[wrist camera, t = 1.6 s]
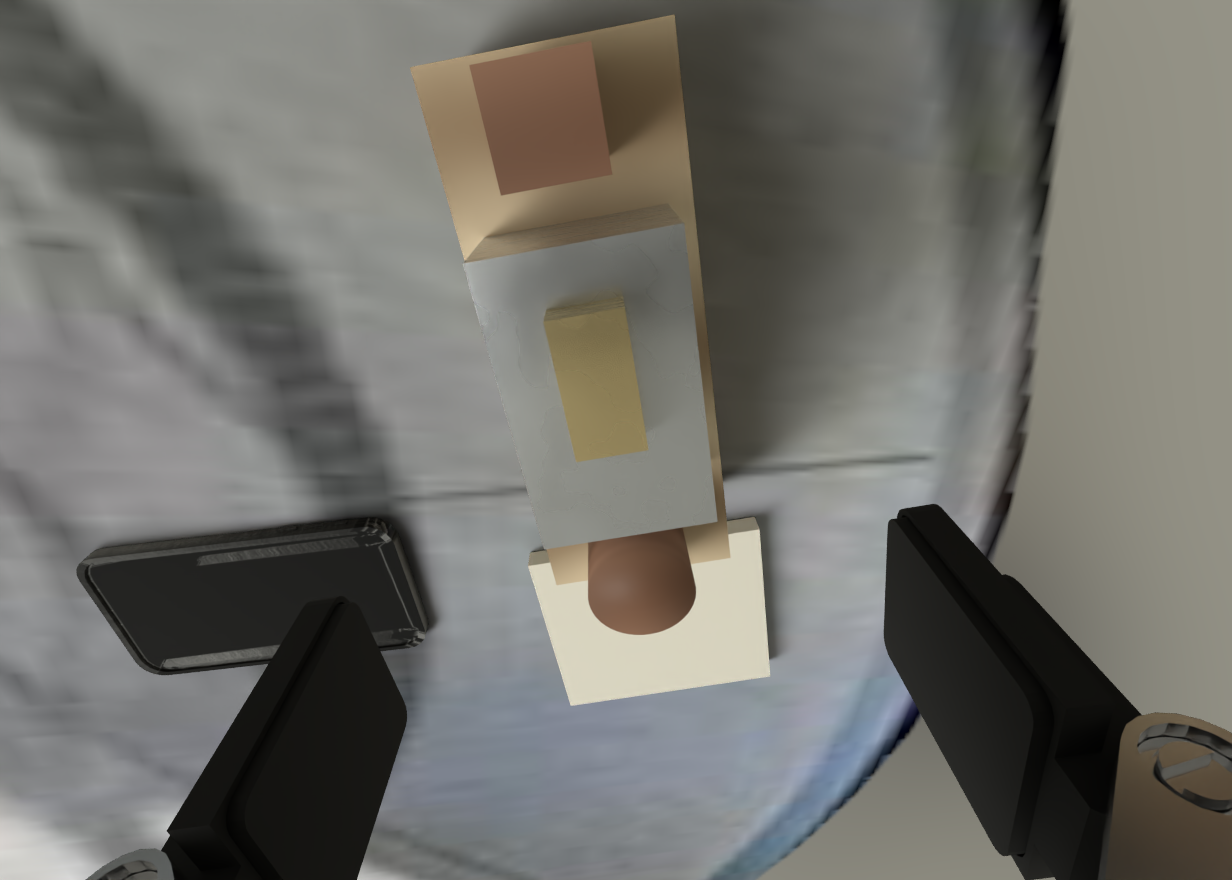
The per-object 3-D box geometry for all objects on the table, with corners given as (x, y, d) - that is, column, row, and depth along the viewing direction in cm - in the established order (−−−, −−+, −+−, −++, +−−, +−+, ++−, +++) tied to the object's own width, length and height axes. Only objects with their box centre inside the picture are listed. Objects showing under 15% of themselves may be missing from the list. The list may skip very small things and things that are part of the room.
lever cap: (484, 237, 18) (455, 273, 14) (668, 203, 18) (690, 230, 14) (550, 489, 23) (542, 570, 19) (700, 464, 22) (723, 541, 18)
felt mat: (529, 552, 30) (528, 565, 29) (754, 516, 30) (759, 529, 29) (571, 690, 35) (570, 705, 34) (765, 661, 34) (770, 676, 33)
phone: (430, 645, 32) (145, 678, 32) (435, 629, 33) (159, 660, 33) (386, 522, 28) (64, 560, 28) (393, 508, 29) (81, 544, 29)
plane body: (448, 75, 21) (342, 52, 12) (655, 34, 20) (707, -22, 11) (561, 513, 29) (549, 688, 20) (708, 488, 29) (761, 657, 20)
